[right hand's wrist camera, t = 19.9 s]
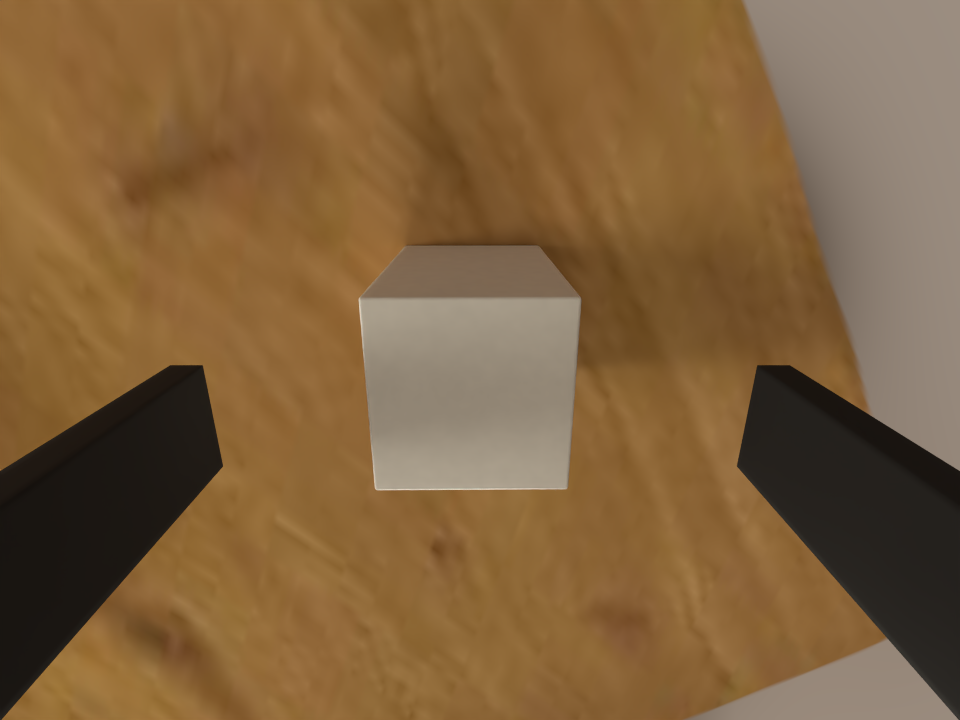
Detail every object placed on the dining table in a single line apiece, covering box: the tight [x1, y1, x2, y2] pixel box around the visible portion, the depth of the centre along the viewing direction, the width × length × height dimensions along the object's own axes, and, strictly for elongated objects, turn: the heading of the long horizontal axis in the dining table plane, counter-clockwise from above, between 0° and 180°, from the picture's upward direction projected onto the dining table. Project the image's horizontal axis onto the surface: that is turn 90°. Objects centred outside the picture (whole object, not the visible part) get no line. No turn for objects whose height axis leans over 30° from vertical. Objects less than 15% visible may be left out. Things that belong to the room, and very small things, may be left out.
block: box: [359, 245, 581, 490], centre depth 17 cm, size 5×5×8 cm
